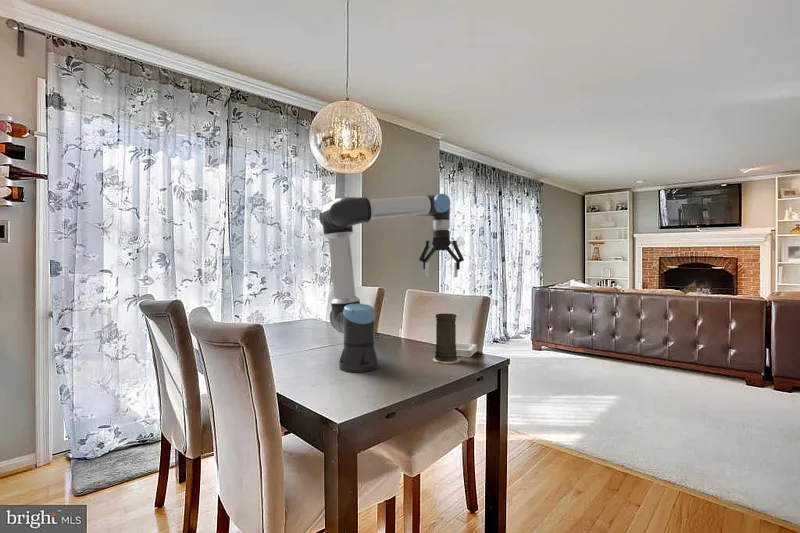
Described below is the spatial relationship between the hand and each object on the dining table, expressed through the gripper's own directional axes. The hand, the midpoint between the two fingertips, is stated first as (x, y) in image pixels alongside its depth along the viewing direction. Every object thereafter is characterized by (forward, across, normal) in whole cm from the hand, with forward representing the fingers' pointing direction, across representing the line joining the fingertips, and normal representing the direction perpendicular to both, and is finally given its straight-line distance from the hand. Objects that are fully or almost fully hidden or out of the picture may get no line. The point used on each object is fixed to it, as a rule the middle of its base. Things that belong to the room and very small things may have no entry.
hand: (441, 277), depth 190 cm
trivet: (+33, +8, -20) cm, 39 cm away
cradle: (+33, +10, -5) cm, 35 cm away
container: (+32, +8, -20) cm, 39 cm away
